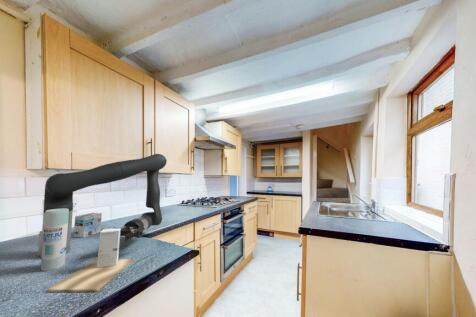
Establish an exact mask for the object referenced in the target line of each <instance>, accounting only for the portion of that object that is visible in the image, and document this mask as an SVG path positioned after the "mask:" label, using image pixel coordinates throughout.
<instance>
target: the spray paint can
mask: <svg viewBox="0 0 476 317" xmlns="http://www.w3.org/2000/svg"><path fill="white" fill-rule="evenodd" d="M68 218H69V209H66V208H62V209H51V210H46V212H45V218H44V232H43V246H42V257H41V264H40V270H41V271H42V272H49V271H54V270H57V269H60V268H62V267H64V266H65V263H66V255H67V253H66V242H67V230H68Z"/></svg>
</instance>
